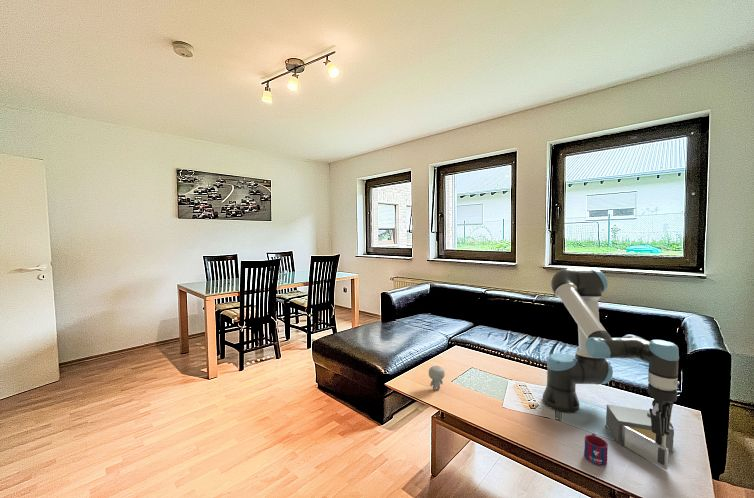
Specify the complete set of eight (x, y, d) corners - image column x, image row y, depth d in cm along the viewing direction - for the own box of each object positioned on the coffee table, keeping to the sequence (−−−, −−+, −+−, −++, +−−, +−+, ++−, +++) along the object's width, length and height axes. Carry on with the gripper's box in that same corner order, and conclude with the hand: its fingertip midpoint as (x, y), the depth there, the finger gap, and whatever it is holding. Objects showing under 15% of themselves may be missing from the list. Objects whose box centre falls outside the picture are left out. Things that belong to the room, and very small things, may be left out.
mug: (584, 460, 111) (584, 442, 110) (584, 445, 119) (585, 428, 118) (607, 469, 107) (608, 450, 106) (606, 452, 115) (606, 434, 115)
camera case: (617, 443, 119) (618, 418, 119) (606, 424, 131) (606, 402, 130) (681, 455, 113) (682, 428, 113) (663, 434, 125) (664, 410, 124)
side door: (620, 444, 118) (621, 425, 118) (622, 443, 119) (623, 424, 118) (665, 470, 105) (666, 449, 105) (668, 469, 106) (668, 448, 105)
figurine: (439, 385, 166) (439, 363, 166) (446, 391, 159) (447, 369, 158) (426, 387, 164) (426, 365, 163) (433, 394, 156) (433, 371, 156)
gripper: (668, 395, 101) (666, 464, 103) (684, 385, 108) (681, 451, 109) (640, 386, 108) (638, 451, 109) (656, 377, 114) (654, 438, 115)
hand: (659, 450), depth 109 cm, fingers closed
